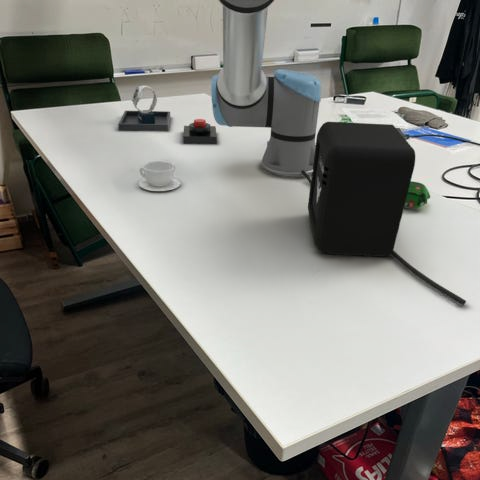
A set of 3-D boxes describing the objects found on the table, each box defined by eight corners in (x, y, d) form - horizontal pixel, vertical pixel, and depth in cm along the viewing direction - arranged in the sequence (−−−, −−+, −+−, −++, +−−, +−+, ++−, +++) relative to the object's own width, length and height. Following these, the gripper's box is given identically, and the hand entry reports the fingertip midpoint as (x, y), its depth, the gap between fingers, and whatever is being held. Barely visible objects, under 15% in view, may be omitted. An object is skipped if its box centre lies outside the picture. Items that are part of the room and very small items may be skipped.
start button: (205, 128, 145) (205, 122, 144) (194, 127, 145) (193, 121, 144) (205, 124, 148) (205, 119, 147) (194, 124, 148) (193, 118, 147)
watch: (132, 120, 161) (129, 85, 154) (155, 119, 163) (153, 84, 157) (136, 125, 157) (133, 88, 150) (160, 123, 159) (158, 87, 153)
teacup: (186, 181, 119) (185, 162, 116) (171, 195, 111) (170, 175, 108) (149, 175, 121) (147, 157, 118) (131, 189, 113) (129, 170, 110)
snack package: (362, 191, 117) (366, 171, 114) (428, 203, 113) (434, 181, 110) (356, 202, 112) (360, 180, 109) (425, 214, 108) (432, 192, 105)
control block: (216, 144, 144) (216, 130, 142) (183, 143, 144) (183, 130, 141) (215, 133, 154) (215, 120, 152) (184, 132, 153) (183, 119, 151)
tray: (168, 131, 154) (167, 124, 153) (118, 130, 153) (118, 124, 151) (170, 117, 168) (170, 111, 167) (125, 116, 167) (124, 110, 166)
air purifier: (305, 213, 106) (317, 118, 94) (371, 216, 106) (391, 121, 94) (312, 257, 90) (328, 149, 78) (390, 261, 89) (418, 153, 78)
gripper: (230, -57, 119) (228, 51, 133) (233, -59, 109) (231, 58, 123) (260, -55, 120) (255, 52, 134) (266, -57, 109) (260, 59, 123)
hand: (243, 55), depth 128 cm, fingers closed
